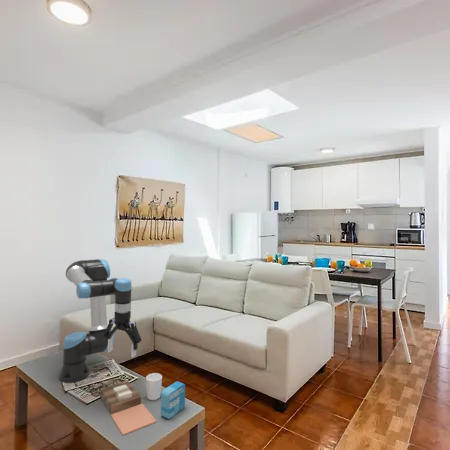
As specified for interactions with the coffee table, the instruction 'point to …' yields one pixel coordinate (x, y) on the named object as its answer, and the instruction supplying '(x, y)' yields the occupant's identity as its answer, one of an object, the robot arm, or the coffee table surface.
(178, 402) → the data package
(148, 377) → the white cup
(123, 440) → the coffee table surface
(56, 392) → the coffee table surface
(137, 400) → the block
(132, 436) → the coffee table surface
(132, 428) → the terracotta mat
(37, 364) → the coffee table surface
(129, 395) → the birch tile
